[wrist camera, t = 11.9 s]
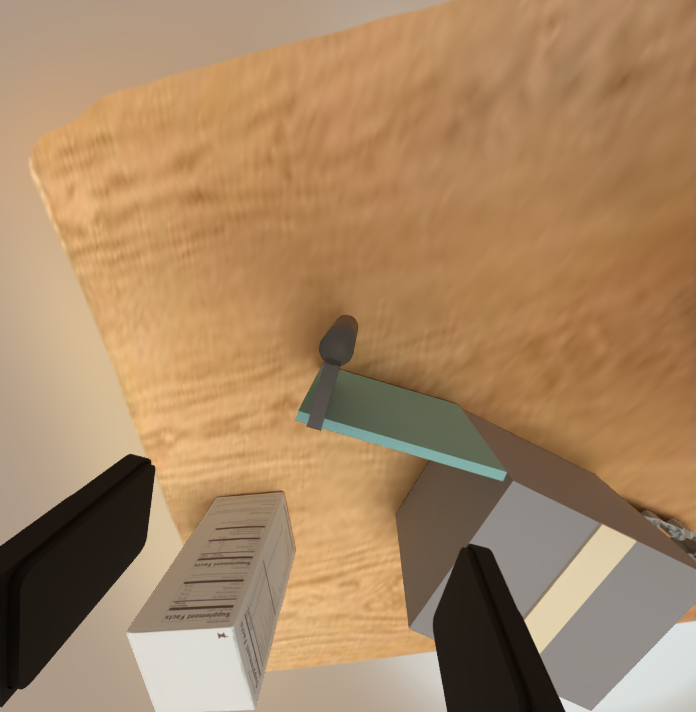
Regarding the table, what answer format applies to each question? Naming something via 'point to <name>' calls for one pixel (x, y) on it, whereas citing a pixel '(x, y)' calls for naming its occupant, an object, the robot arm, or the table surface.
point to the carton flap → (390, 412)
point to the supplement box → (217, 608)
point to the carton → (549, 560)
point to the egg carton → (675, 532)
